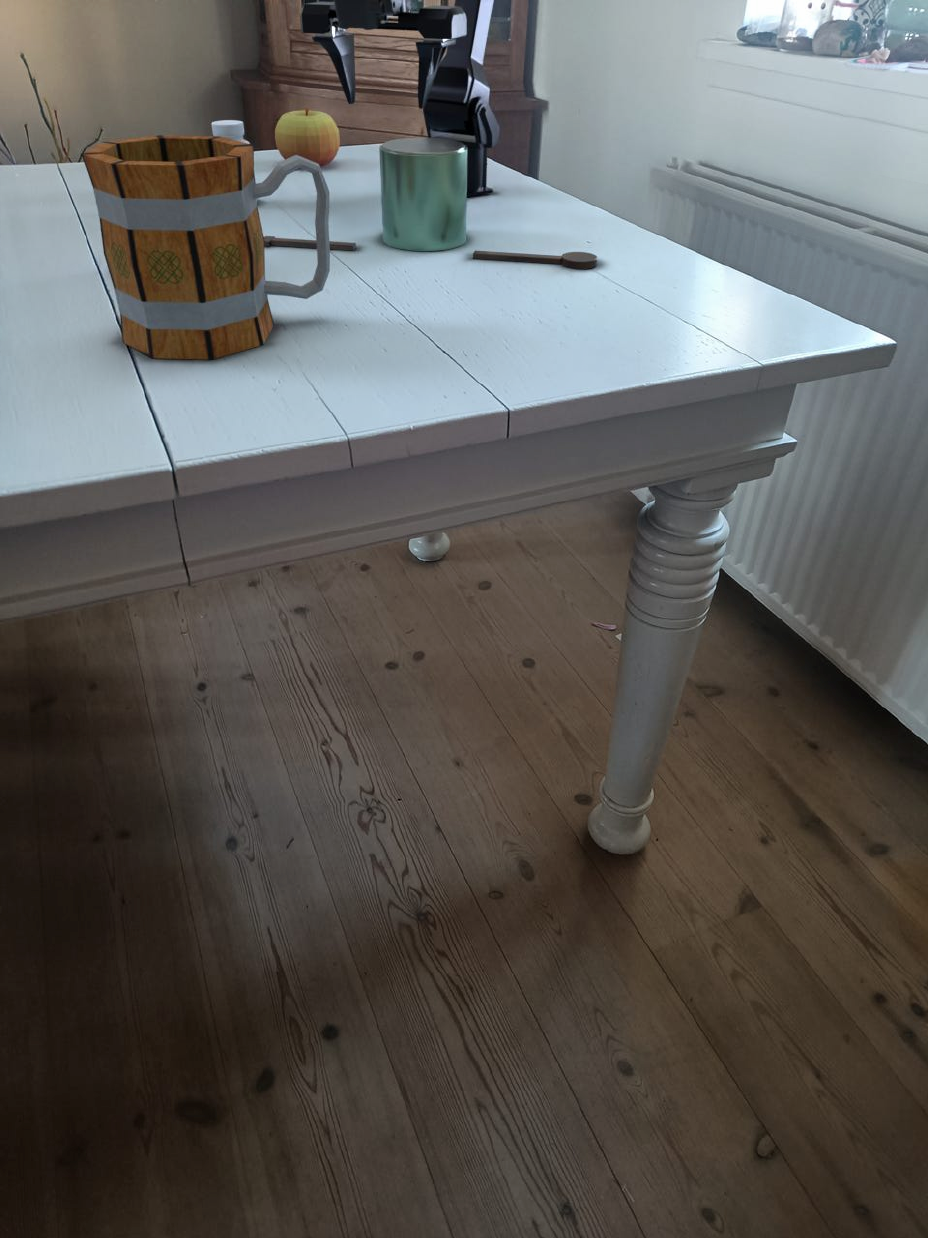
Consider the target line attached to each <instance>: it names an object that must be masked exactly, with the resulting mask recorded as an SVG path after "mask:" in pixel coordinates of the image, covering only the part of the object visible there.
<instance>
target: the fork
mask: <svg viewBox="0 0 928 1238" xmlns="http://www.w3.org/2000/svg"><path fill="white" fill-rule="evenodd" d="M329 244H330V250H333V251H334V250H335V251H349V252H350V251H351V252H354V251H355V250H356V249H357V243H356V242H347V241H335V240H333V241H332V240H329ZM271 246H272V247H288V248H290V247H291V248H302V249H303V248H304V249H305V248H306V249H317V241H316V239H301V238H287V237H286V238H285V237H276V236H275V235H265V236H264V248H265V247H266V248H268V247H271Z"/></svg>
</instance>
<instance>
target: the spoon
mask: <svg viewBox="0 0 928 1238" xmlns="http://www.w3.org/2000/svg"><path fill="white" fill-rule="evenodd" d="M472 259H476V260H490V261H503V262H504V261H507V262H519V263H520V262H522V263H536V264H537V263H538V264H552V265H561V266H563V267H566V268H569V269H574V270H587V269H593V268H596V267H597V266H598V259H599V258H598V256H597V255H596V254H594V253H592V252H591V253H590V252H586V251H570V252H569V251H568V252H565V253H563V254H562V255H555V254H553V255H552V254H536V253H524V252H523V253H520V252H505V251H489V250H477V249H476V250H474V251H473V253H472Z"/></svg>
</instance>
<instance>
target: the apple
mask: <svg viewBox="0 0 928 1238" xmlns="http://www.w3.org/2000/svg"><path fill="white" fill-rule="evenodd" d="M274 139H275V145H276V148H277V150H278V152H279V154H280V156H281V157H282V158H283V160H286V159H288V158H290V157H292V156H294V155H298V156H301V157H303V158H305V159H308V160H310V161H313V162H315V163H318V164H319V166H320V168H322V167H326V166H327V165H329V164H330V163H331V162H332V161H333V160H334V159H335V158H336V156H337V155H338V152H339V149H340V145H341V138H340V130H339V128H338V125H337V123H336V122H335V120H334V119H333V118H332V117H331V115H329V114H327V113H326V112H322V111H317V110H310V109H309V108H305V109H304V110H293V111H288V112H286V113H283V114H282V115H281V117H280V118H279V120H278V121H277V123H276V126H275V129H274Z"/></svg>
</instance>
